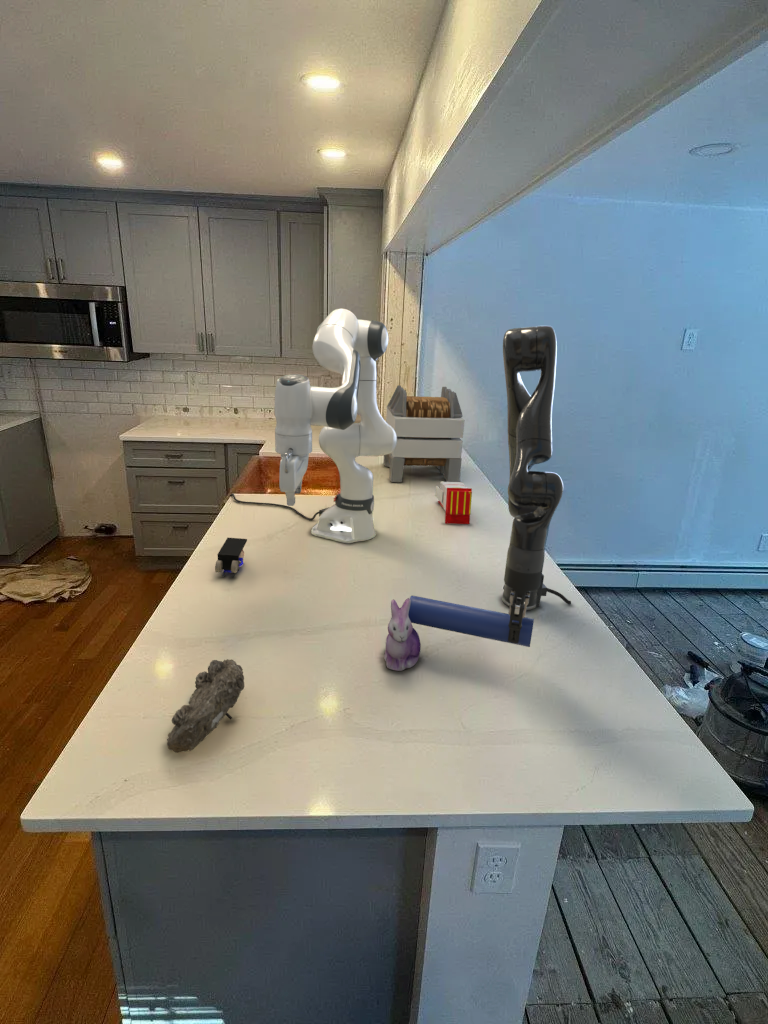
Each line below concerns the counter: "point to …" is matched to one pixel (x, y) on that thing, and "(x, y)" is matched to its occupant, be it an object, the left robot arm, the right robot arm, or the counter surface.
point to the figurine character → (230, 556)
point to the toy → (455, 502)
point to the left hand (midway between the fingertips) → (294, 498)
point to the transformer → (425, 433)
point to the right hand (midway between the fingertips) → (514, 633)
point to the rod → (467, 620)
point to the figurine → (401, 639)
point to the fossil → (206, 705)
